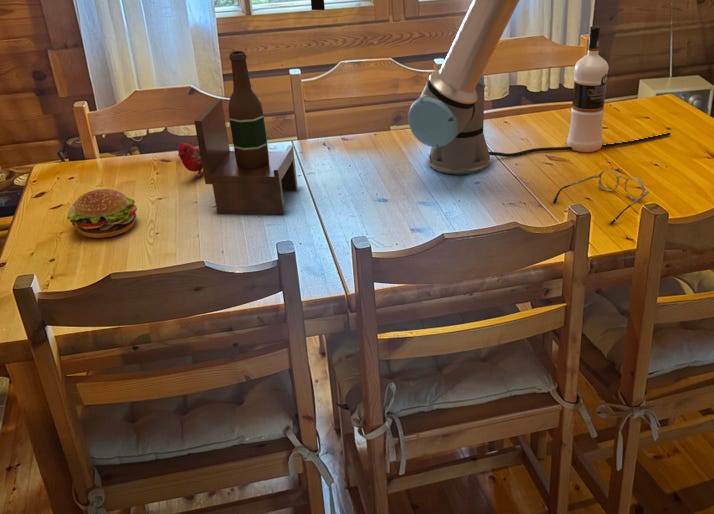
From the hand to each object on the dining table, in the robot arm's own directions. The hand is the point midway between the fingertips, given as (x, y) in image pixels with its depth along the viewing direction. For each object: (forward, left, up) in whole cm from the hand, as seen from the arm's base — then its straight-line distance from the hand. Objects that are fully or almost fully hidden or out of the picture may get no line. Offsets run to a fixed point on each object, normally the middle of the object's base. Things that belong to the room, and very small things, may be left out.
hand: (324, 3), depth 181 cm
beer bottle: (+15, +20, -30) cm, 39 cm away
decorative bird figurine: (+33, +4, -39) cm, 51 cm away
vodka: (-62, -18, -39) cm, 75 cm away
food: (+45, +35, -39) cm, 69 cm away
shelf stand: (+15, +20, -39) cm, 46 cm away
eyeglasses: (-63, +18, -39) cm, 76 cm away
